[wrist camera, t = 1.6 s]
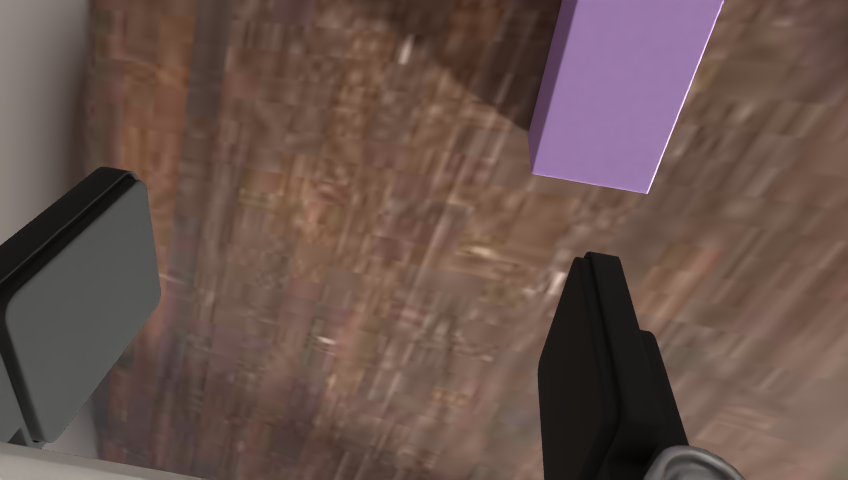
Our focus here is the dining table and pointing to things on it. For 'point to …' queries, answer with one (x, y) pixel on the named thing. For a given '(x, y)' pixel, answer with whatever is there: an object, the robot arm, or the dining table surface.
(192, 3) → the dining table surface
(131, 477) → the robot arm
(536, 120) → the block
